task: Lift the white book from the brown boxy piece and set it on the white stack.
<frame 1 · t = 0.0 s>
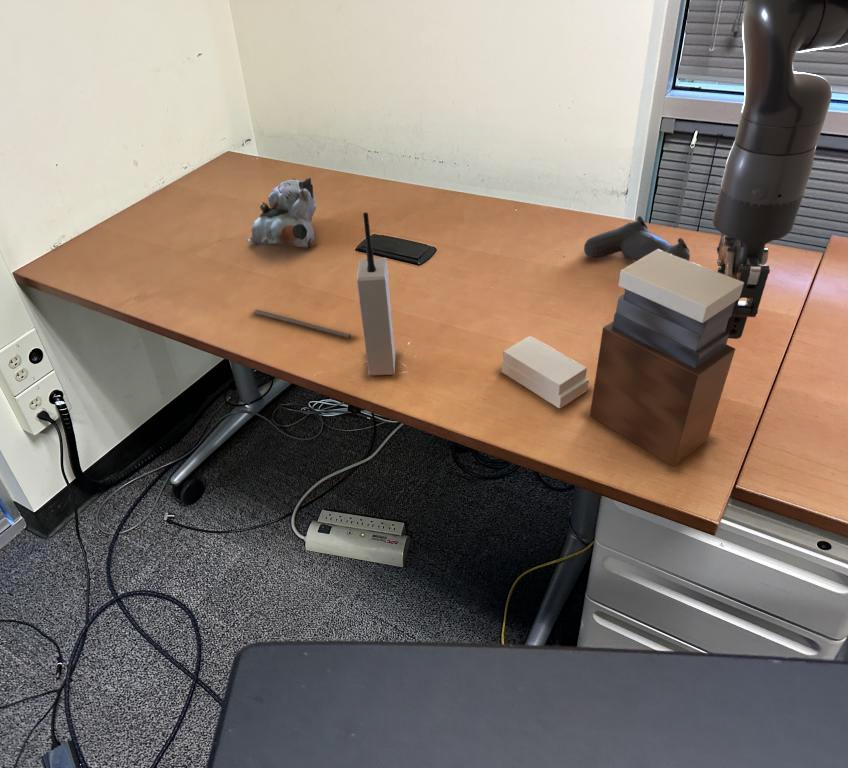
hand: (725, 315, 80), 13 cm above the table, tool pointing down, fingers open, 8 cm apart
gaming controller: (635, 269, 113), on the table
white book: (677, 292, 73), point 20 cm above the table, touching brown boxy piece
vintage mobile phone: (382, 366, 102), on the table
brown boxy piece: (646, 427, 85), on the table
lucky cat figurine: (286, 242, 135), on the table
white stack: (543, 381, 94), on the table
rod: (300, 326, 112), on the table
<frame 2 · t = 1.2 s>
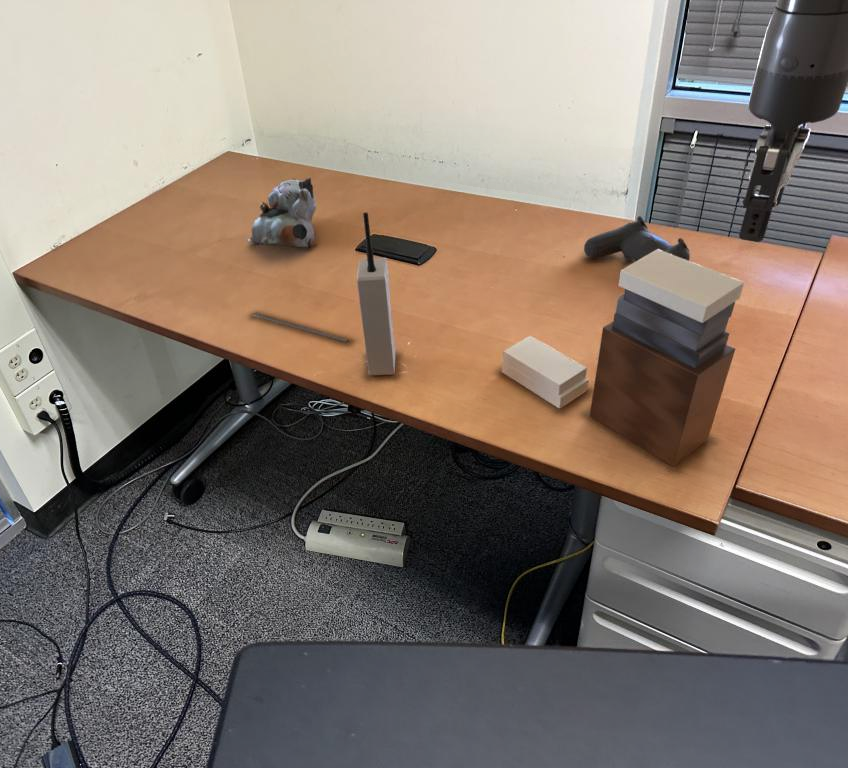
hand: (759, 221, 73), 24 cm above the table, tool pointing down, fingers open, 8 cm apart
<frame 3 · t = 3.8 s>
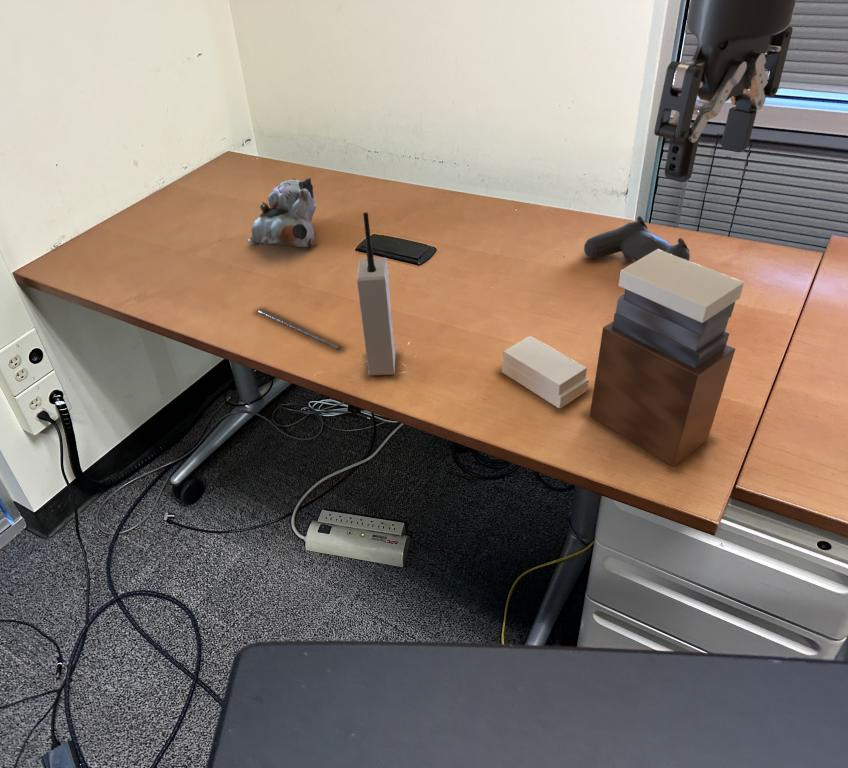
hand: (705, 163, 64), 34 cm above the table, tool pointing down, fingers open, 8 cm apart
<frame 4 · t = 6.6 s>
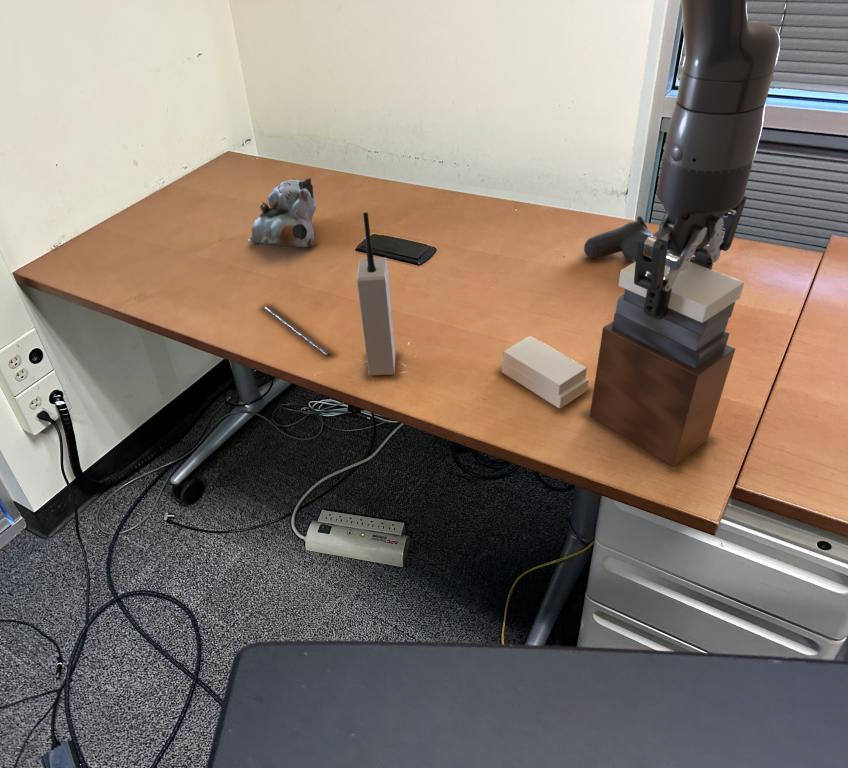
hand: (674, 302, 73), 19 cm above the table, tool pointing down, fingers closed on white book, 6 cm apart
white book: (677, 292, 73), point 20 cm above the table, touching brown boxy piece, gripper
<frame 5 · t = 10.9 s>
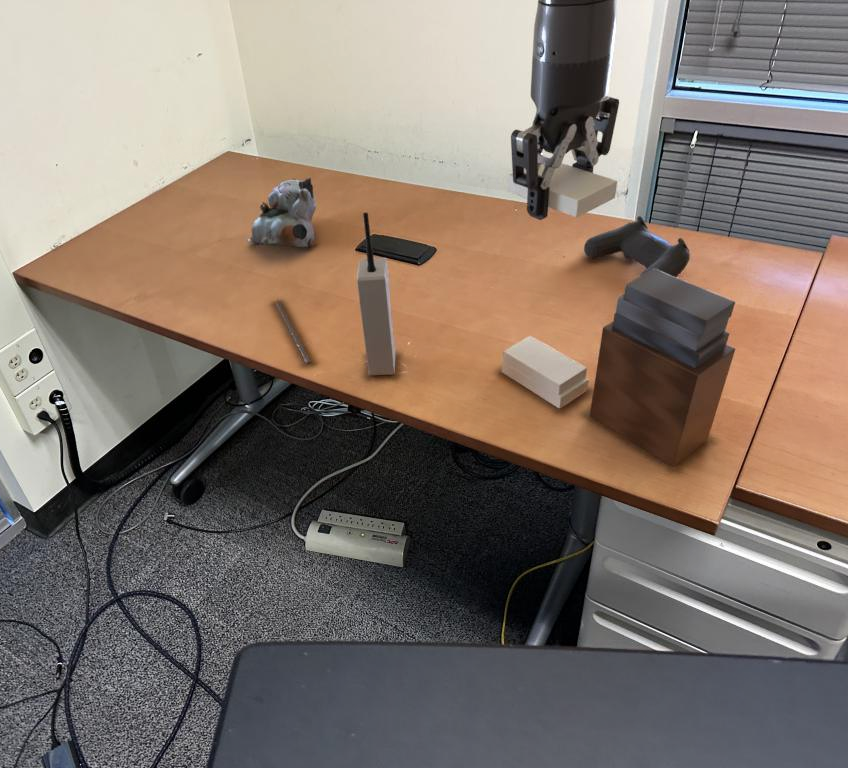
hand: (558, 205, 78), 26 cm above the table, tool pointing down, fingers closed on white book, 6 cm apart
white book: (559, 194, 77), point 27 cm above the table, touching gripper
when the fingers open (2 cm above the table, at t = 15.7 s): white book stays where it is, resting on white stack.
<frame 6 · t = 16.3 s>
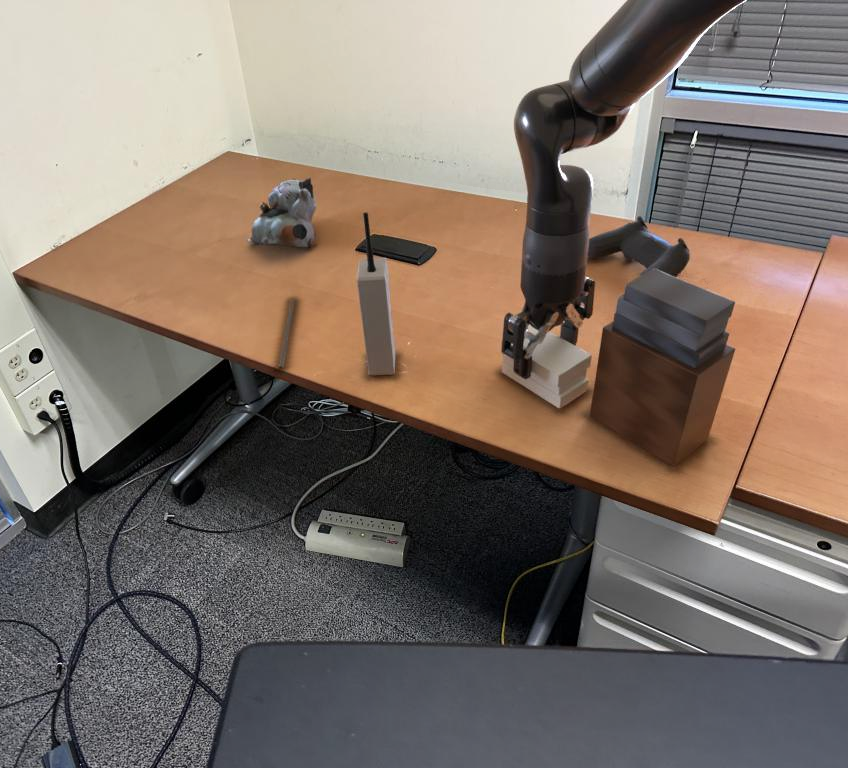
hand: (545, 361, 92), 3 cm above the table, tool pointing down, fingers open, 8 cm apart
white book: (544, 359, 92), point 4 cm above the table, touching white stack
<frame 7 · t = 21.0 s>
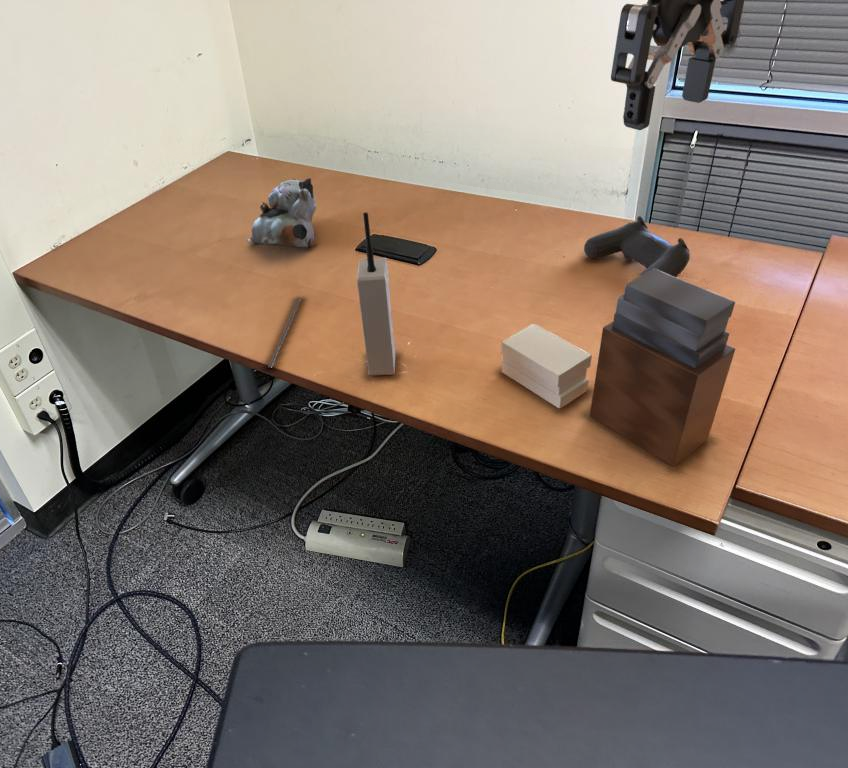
hand: (665, 113, 64), 38 cm above the table, tool pointing down, fingers open, 8 cm apart
at the end: white book 0.1 cm off-centre on the white stack, point 3.8 cm above the white stack's base; white book tilted 0°; white book touching white stack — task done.
